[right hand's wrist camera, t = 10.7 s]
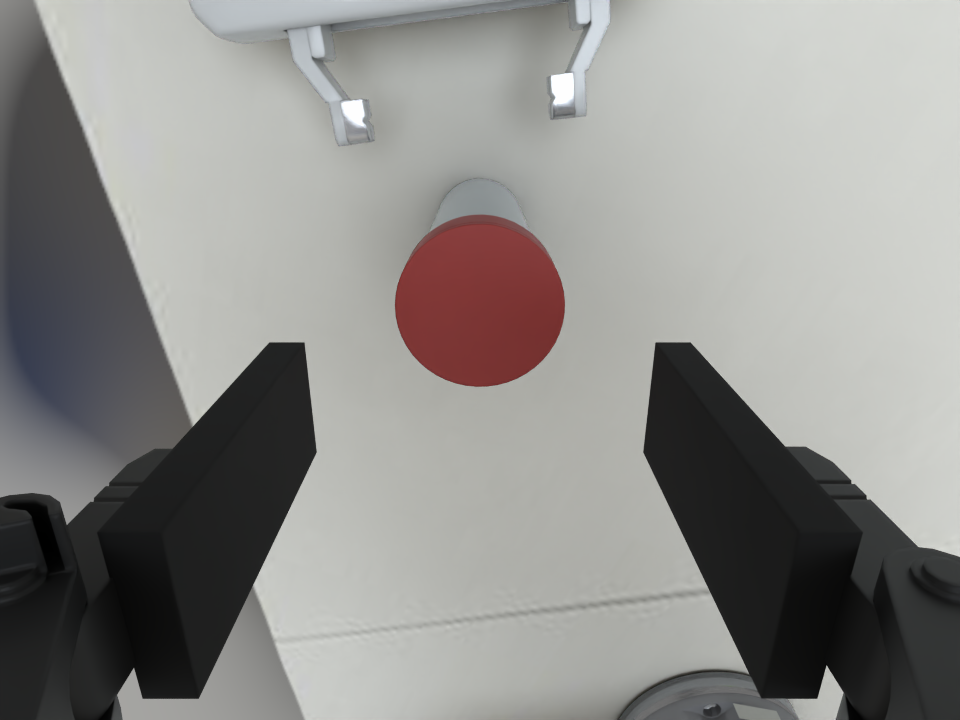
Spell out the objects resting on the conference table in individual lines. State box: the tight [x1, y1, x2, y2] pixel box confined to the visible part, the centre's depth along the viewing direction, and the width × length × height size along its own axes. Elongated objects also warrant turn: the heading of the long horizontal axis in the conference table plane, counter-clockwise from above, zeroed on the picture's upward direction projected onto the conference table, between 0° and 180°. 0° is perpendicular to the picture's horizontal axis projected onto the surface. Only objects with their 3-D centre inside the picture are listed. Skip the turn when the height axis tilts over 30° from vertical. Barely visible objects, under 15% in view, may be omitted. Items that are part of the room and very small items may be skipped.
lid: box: [395, 214, 565, 387], centre depth 21 cm, size 6×6×2 cm
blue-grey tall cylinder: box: [429, 178, 530, 232], centre depth 28 cm, size 5×5×16 cm
